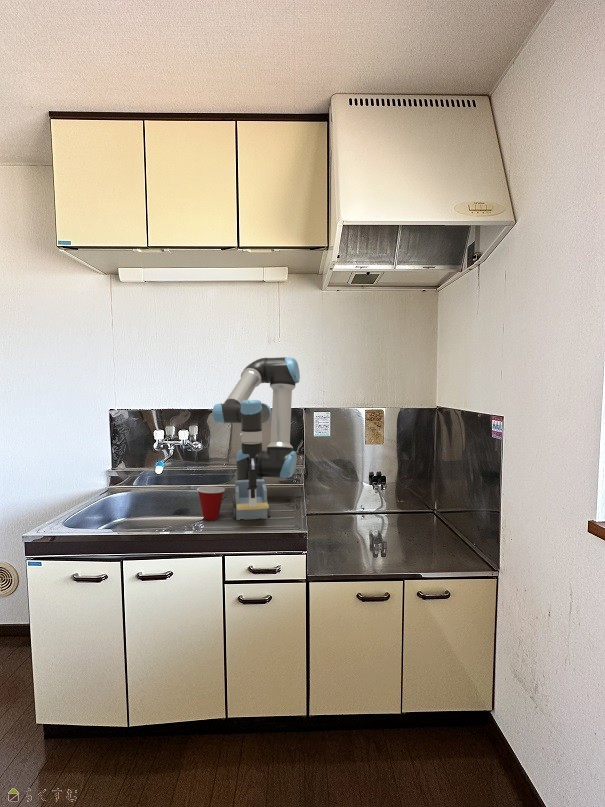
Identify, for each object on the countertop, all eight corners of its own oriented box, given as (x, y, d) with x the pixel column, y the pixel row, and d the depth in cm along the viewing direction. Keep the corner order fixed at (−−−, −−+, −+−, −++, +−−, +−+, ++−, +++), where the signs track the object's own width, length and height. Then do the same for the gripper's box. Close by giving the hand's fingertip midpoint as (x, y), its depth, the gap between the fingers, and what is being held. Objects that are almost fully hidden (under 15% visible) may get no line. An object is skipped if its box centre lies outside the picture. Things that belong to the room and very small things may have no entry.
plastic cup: (230, 519, 183) (229, 488, 182) (203, 524, 178) (202, 493, 177) (219, 512, 192) (218, 483, 192) (193, 517, 187) (193, 487, 186)
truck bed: (232, 509, 196) (232, 480, 195) (267, 507, 198) (266, 478, 197) (233, 520, 182) (232, 488, 181) (270, 517, 184) (269, 486, 184)
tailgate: (236, 503, 181) (237, 507, 172) (266, 502, 183) (268, 505, 174) (236, 508, 181) (237, 511, 172) (266, 506, 183) (268, 509, 174)
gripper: (240, 440, 178) (242, 501, 179) (242, 445, 165) (243, 511, 166) (260, 439, 179) (261, 500, 180) (263, 444, 166) (264, 510, 167)
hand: (252, 505), depth 173 cm, fingers closed
